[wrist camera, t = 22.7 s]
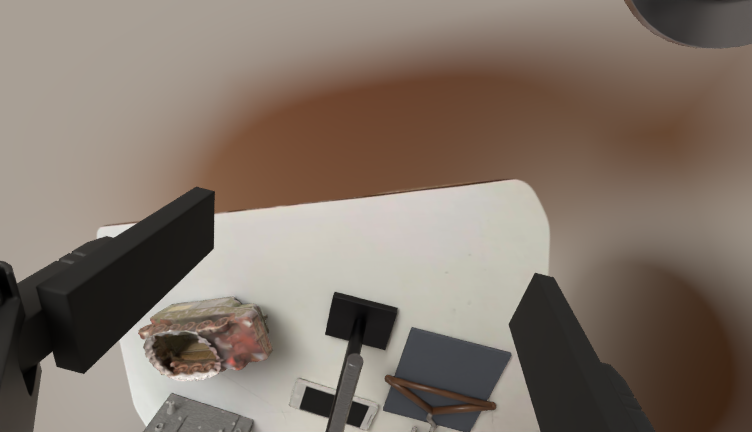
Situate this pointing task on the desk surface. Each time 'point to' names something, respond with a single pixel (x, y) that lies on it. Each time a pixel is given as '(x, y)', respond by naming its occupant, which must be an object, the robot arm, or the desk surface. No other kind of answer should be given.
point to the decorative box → (206, 338)
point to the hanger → (472, 407)
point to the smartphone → (330, 404)
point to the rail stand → (355, 345)
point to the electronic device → (195, 418)
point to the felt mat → (445, 376)
